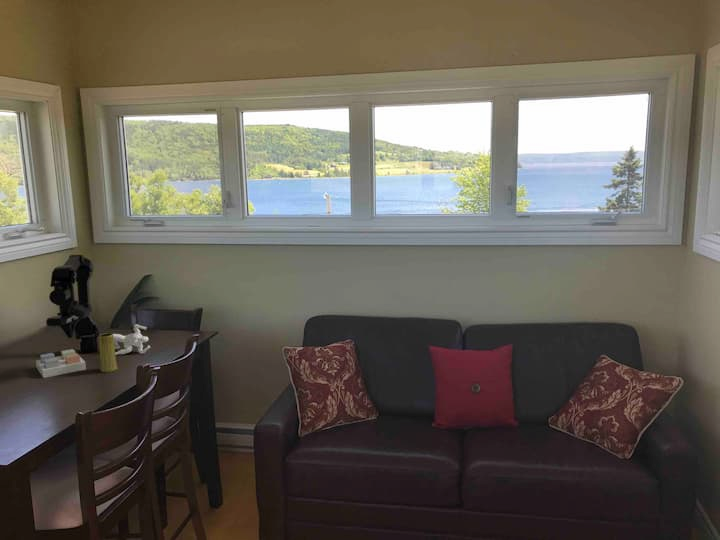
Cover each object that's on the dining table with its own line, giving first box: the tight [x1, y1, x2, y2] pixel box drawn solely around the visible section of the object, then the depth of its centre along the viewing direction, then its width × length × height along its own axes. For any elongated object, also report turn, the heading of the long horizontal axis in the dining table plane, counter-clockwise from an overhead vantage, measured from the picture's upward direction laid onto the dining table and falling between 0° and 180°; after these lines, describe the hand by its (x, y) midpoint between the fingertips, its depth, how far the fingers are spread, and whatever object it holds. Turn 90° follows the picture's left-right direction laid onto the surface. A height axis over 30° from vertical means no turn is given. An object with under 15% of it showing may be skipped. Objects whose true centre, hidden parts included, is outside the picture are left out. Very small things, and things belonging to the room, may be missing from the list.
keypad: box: [35, 355, 87, 379], centre depth 224 cm, size 15×15×3 cm
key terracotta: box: [65, 352, 81, 364], centre depth 223 cm, size 4×4×3 cm
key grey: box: [44, 356, 59, 369], centre depth 219 cm, size 4×4×3 cm
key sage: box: [60, 348, 77, 360], centre depth 229 cm, size 4×4×3 cm
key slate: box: [39, 352, 56, 364], centre depth 224 cm, size 4×4×3 cm
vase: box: [98, 332, 118, 373], centre depth 221 cm, size 6×6×14 cm
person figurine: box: [112, 323, 151, 356], centre depth 245 cm, size 13×13×18 cm
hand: (70, 337), depth 222 cm, fingers closed
